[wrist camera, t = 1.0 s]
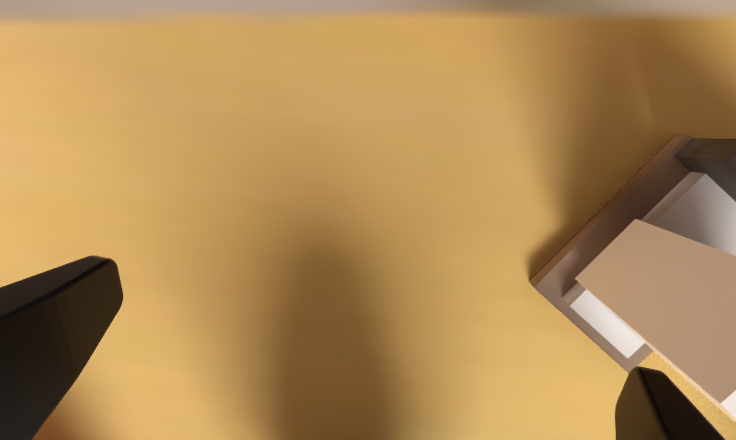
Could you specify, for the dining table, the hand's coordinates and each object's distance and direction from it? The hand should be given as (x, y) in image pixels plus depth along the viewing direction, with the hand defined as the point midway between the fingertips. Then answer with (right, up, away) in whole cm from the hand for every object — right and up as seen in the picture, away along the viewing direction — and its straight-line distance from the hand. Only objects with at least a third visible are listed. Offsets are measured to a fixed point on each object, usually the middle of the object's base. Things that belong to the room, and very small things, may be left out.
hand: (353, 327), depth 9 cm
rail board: (+13, 0, +16) cm, 21 cm away
